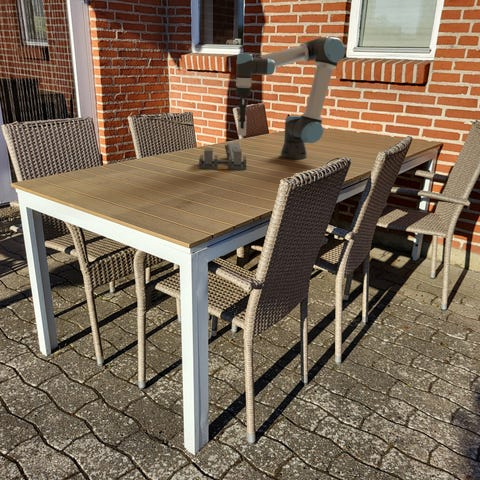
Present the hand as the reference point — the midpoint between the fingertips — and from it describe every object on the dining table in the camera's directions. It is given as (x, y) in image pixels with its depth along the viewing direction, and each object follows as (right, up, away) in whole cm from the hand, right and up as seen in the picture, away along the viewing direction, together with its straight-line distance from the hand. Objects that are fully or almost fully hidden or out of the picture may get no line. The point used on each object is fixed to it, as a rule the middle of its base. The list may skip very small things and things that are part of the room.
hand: (241, 133), depth 243 cm
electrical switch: (-5, -9, +25) cm, 27 cm away
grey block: (0, 0, 0) cm, 0 cm away
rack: (-10, -16, +5) cm, 19 cm away
